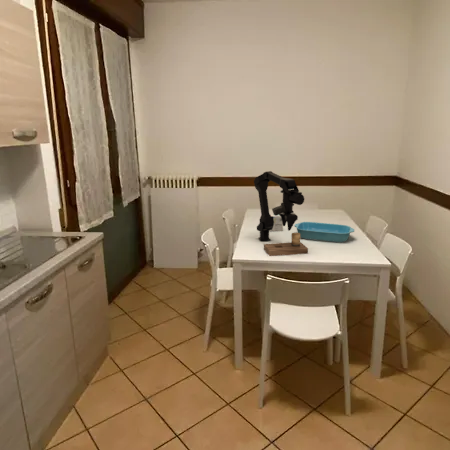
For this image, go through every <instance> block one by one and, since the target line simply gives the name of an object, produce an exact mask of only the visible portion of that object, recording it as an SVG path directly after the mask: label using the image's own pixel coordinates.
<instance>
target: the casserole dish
mask: <svg viewBox="0 0 450 450" xmlns="http://www.w3.org/2000/svg"><path fill="white" fill-rule="evenodd" d="M293 226H294V227H295V228H296V231H297V233H300V239H304V240H305V239H306V240H311V241H312V240H313V241H321V242H329V243H331V242H332V243H344V242H346V241H347V240H348V239H349V236H350V234H352V233H355V231H356V230H355V228H354V227H352V226H350V225H347V224H346V225H345V224H338V223H327V222H318V221H317V222H316V221H302V222H298V223H294V224H293Z"/></svg>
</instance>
